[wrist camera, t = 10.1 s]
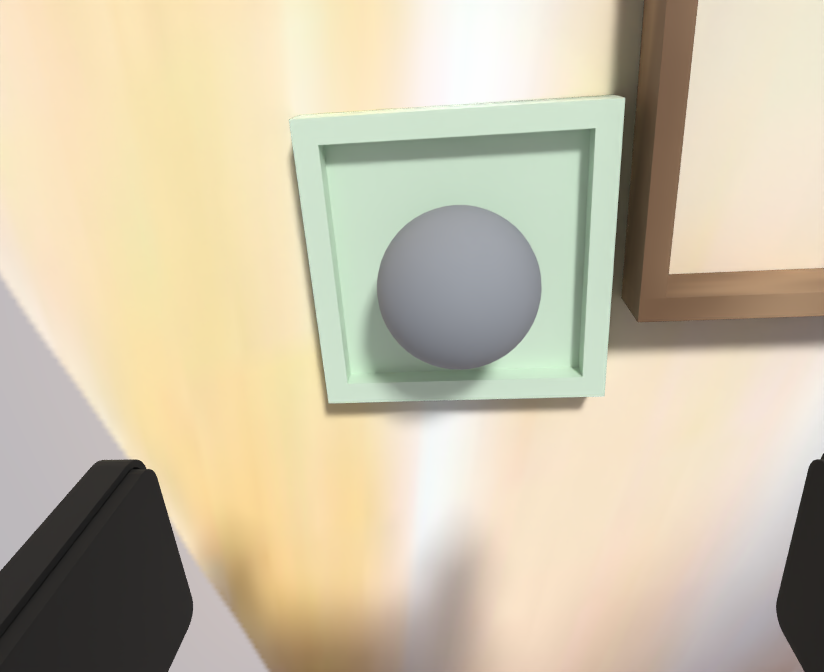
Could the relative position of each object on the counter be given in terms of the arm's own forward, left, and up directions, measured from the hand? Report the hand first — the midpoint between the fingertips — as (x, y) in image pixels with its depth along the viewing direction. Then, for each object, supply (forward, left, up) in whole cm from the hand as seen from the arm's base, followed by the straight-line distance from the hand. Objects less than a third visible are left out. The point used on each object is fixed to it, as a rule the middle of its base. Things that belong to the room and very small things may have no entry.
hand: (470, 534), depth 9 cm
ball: (0, 0, -11) cm, 11 cm away
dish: (0, 0, -14) cm, 14 cm away
